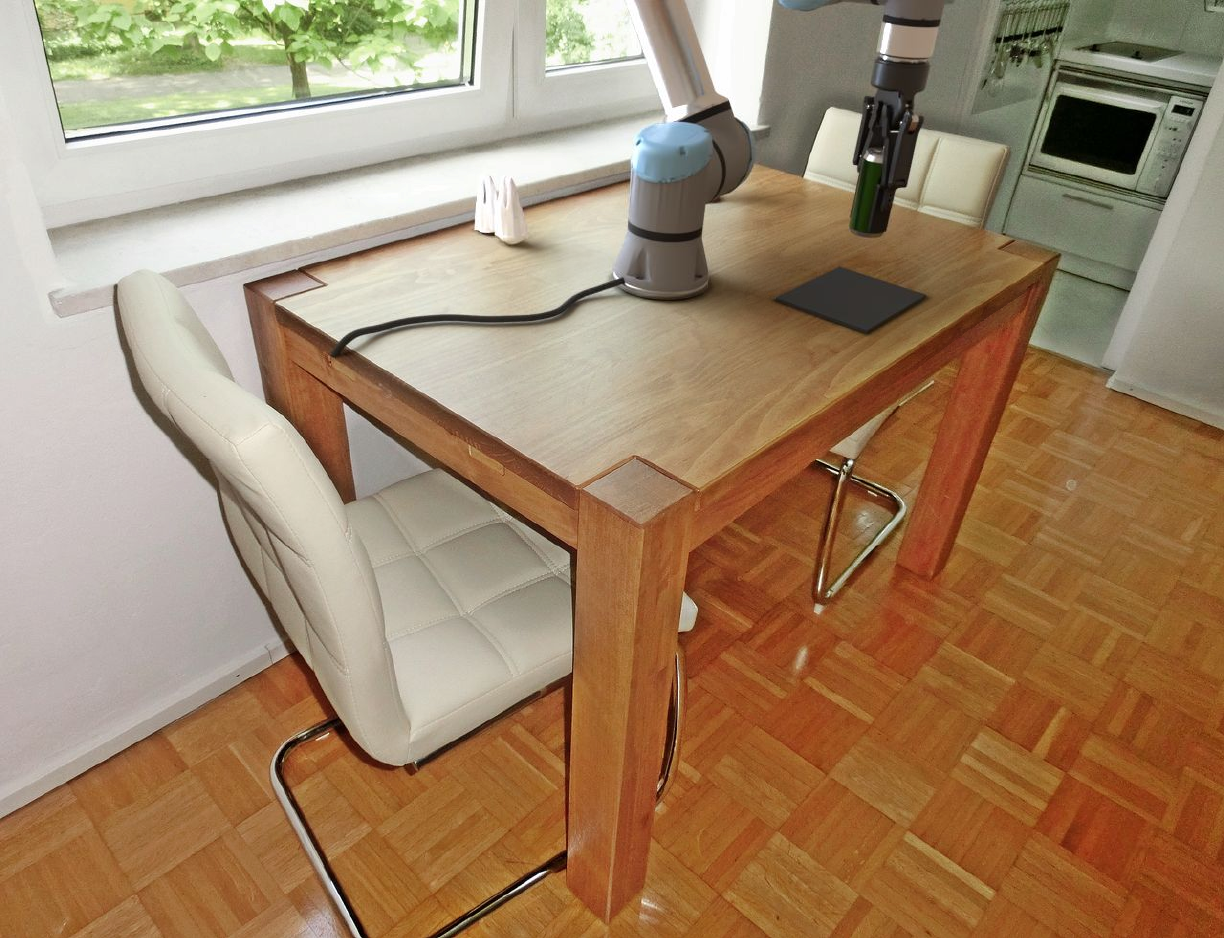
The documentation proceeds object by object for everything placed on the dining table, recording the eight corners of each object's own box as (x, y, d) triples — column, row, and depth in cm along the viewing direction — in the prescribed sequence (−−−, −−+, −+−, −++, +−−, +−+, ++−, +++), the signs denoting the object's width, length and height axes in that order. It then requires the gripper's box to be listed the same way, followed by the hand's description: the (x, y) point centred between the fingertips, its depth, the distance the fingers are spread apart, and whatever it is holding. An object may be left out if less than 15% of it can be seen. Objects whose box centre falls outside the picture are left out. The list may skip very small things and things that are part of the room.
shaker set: (531, 245, 154) (531, 181, 148) (510, 250, 152) (510, 184, 146) (492, 225, 162) (491, 163, 155) (472, 229, 159) (470, 166, 153)
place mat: (866, 334, 131) (867, 330, 131) (774, 300, 140) (775, 297, 140) (925, 298, 144) (926, 294, 144) (838, 269, 153) (839, 266, 152)
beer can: (843, 233, 135) (860, 152, 128) (854, 224, 139) (870, 144, 132) (878, 241, 133) (897, 158, 126) (888, 231, 137) (906, 151, 130)
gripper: (963, 71, 116) (919, 245, 129) (896, 46, 131) (863, 204, 143) (911, 70, 114) (872, 246, 127) (849, 45, 129) (820, 205, 142)
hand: (867, 224), depth 135 cm, fingers closed on beer can, 5 cm apart
